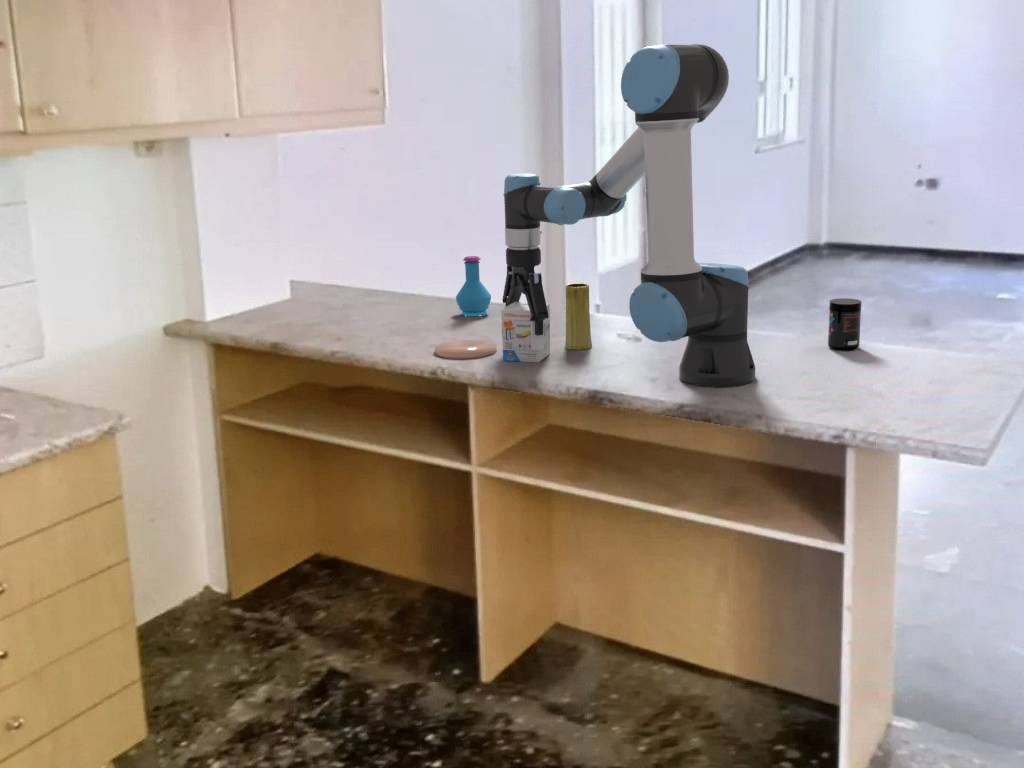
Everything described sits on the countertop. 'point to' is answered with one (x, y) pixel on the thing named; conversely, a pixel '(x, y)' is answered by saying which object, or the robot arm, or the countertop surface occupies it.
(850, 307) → the supplement container
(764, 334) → the countertop surface
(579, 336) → the vase
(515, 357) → the ink box
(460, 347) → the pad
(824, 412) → the countertop surface
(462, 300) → the perfume bottle
